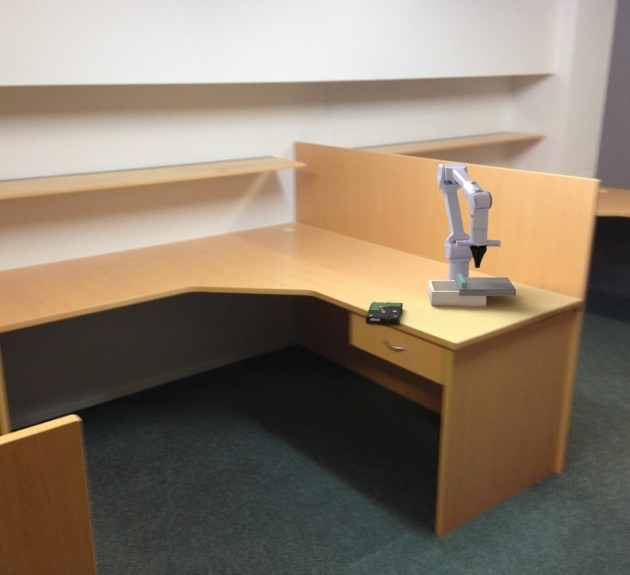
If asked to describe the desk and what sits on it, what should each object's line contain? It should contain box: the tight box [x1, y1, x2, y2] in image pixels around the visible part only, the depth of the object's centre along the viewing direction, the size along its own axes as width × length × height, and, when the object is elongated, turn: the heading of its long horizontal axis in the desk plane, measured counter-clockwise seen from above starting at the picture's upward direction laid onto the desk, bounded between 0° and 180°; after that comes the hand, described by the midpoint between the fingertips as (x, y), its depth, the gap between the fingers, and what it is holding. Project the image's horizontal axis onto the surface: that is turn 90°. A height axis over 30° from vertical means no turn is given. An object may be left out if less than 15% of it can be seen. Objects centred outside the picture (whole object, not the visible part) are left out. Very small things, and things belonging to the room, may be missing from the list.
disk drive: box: [365, 301, 404, 326], centre depth 222 cm, size 10×3×15 cm
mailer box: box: [427, 279, 487, 307], centre depth 235 cm, size 13×18×5 cm
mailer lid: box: [454, 274, 517, 297], centre depth 233 cm, size 15×18×4 cm
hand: (477, 267), depth 235 cm, fingers closed
